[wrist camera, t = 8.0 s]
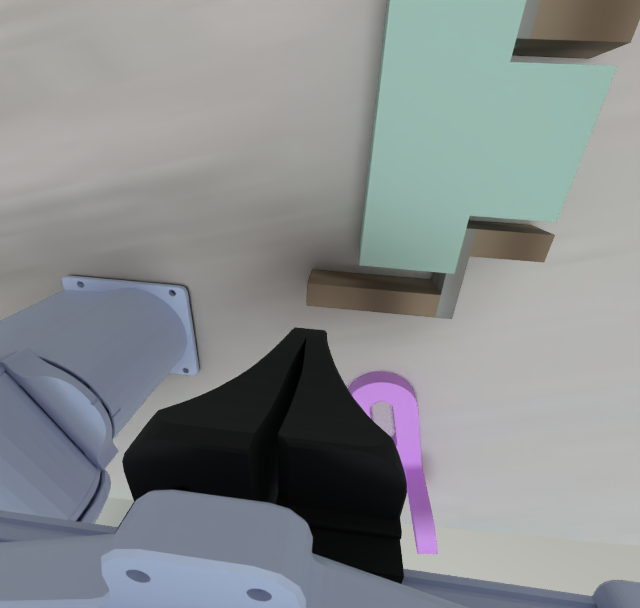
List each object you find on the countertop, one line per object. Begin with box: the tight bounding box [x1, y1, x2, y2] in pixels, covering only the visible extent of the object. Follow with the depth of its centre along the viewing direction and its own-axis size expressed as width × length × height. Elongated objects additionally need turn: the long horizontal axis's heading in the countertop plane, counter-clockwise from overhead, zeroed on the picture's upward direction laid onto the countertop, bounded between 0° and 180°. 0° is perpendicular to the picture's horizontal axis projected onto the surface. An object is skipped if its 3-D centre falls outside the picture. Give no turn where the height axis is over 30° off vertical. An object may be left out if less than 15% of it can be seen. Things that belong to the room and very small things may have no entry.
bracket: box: [348, 372, 438, 554], centre depth 24 cm, size 13×6×7 cm, turn 10°
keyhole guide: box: [307, 0, 640, 319], centre depth 16 cm, size 13×19×2 cm
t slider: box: [359, 0, 617, 274], centre depth 16 cm, size 9×12×4 cm
